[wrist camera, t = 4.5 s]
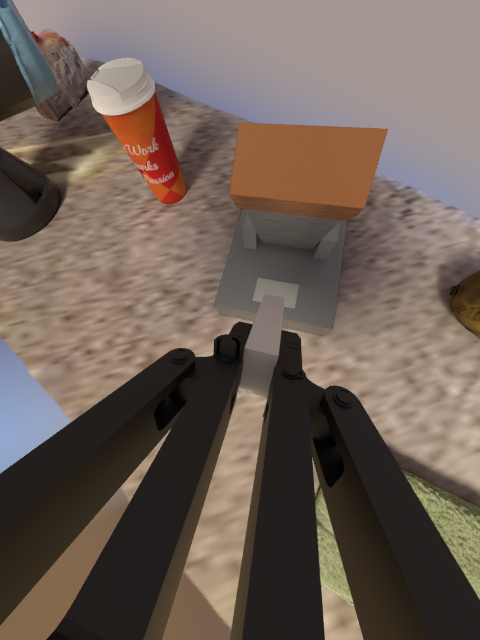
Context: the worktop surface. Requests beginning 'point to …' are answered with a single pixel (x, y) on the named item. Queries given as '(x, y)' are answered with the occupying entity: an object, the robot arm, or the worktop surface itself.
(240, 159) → the lever
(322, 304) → the switch block
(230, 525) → the worktop surface
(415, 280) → the worktop surface
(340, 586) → the washcloth
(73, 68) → the food item
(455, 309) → the potato
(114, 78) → the paper cup
